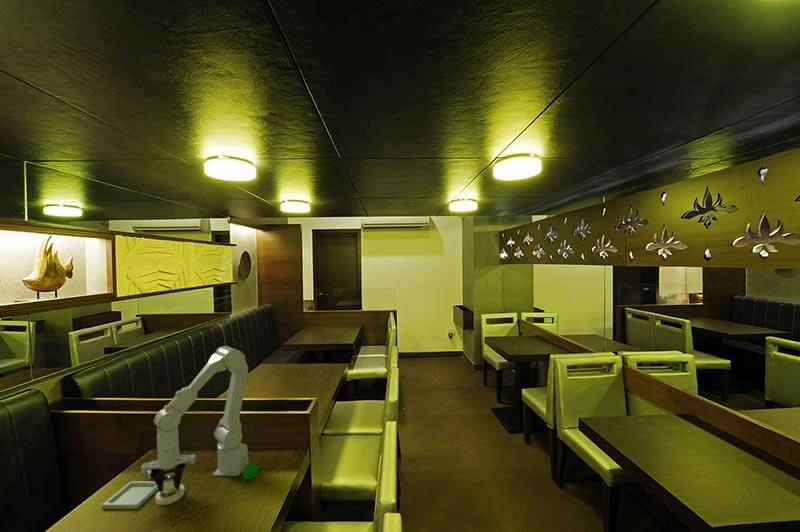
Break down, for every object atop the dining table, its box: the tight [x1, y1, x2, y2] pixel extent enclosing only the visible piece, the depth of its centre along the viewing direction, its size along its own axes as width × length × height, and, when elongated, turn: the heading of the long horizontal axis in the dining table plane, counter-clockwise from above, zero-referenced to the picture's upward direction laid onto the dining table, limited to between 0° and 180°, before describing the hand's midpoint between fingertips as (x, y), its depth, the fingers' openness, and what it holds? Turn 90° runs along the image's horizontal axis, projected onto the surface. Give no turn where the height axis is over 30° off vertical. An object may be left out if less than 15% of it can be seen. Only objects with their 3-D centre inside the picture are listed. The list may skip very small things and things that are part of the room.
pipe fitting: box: [143, 466, 175, 481], centre depth 124 cm, size 8×4×7 cm
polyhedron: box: [241, 462, 259, 480], centre depth 120 cm, size 5×5×5 cm
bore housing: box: [155, 483, 185, 506], centre depth 111 cm, size 8×8×2 cm
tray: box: [101, 480, 159, 510], centre depth 112 cm, size 11×11×1 cm
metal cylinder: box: [162, 471, 178, 497], centre depth 111 cm, size 4×4×6 cm
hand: (170, 488), depth 111 cm, fingers closed on metal cylinder, 4 cm apart
